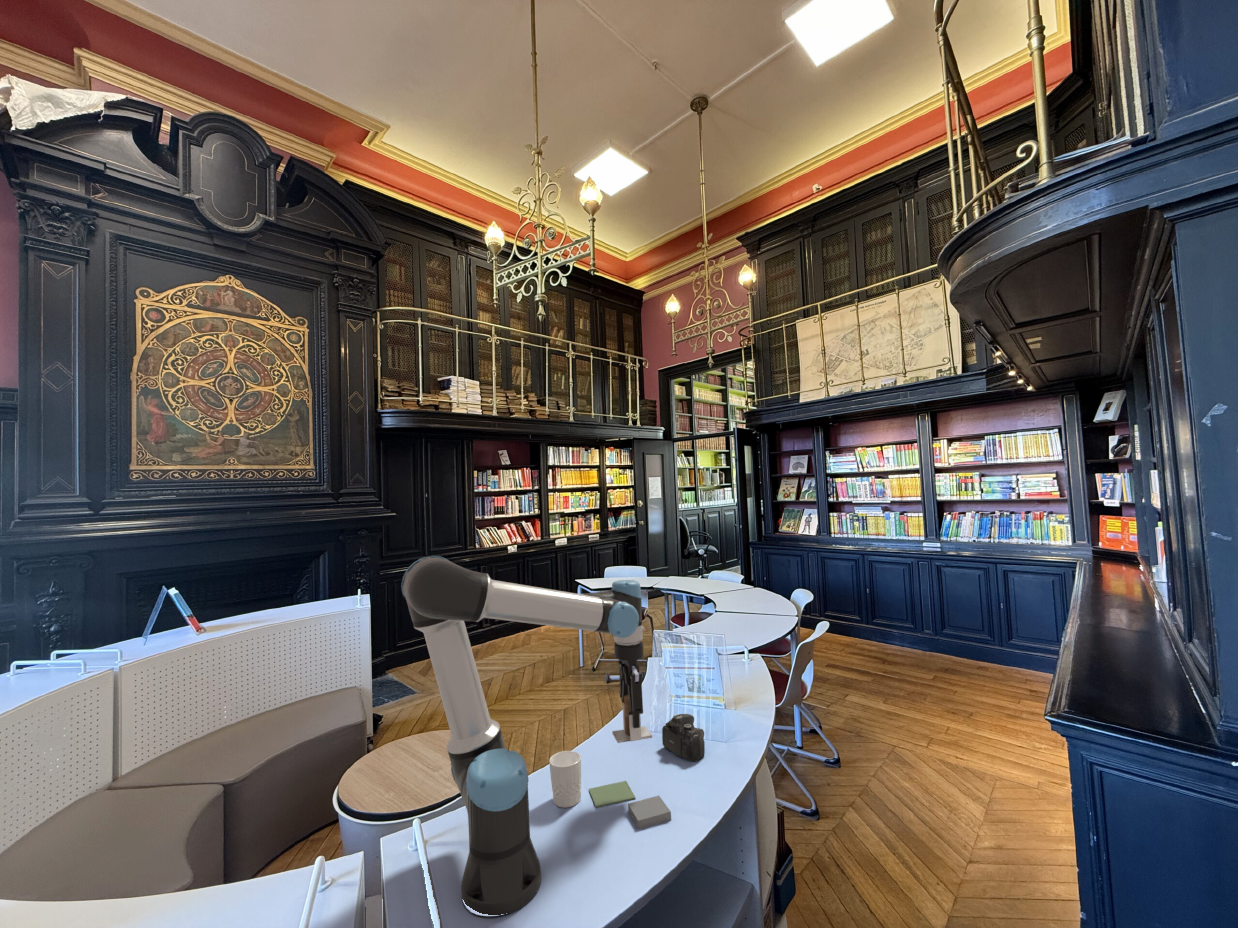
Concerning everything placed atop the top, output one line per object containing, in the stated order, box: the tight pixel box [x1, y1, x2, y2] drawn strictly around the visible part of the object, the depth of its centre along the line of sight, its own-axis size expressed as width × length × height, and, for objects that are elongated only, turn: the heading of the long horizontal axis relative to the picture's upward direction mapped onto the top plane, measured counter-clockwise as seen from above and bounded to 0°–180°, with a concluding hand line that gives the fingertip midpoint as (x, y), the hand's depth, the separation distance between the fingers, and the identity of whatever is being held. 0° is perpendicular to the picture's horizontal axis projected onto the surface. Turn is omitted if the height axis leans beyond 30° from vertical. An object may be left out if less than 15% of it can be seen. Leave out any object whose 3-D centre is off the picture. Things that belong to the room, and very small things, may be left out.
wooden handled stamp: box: [611, 694, 653, 744], centre depth 130 cm, size 9×6×10 cm, turn 105°
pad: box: [588, 780, 636, 809], centre depth 128 cm, size 10×8×1 cm
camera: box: [661, 713, 706, 762], centre depth 148 cm, size 13×10×10 cm
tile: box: [627, 795, 672, 830], centre depth 118 cm, size 8×2×7 cm
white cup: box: [548, 750, 582, 809], centre depth 127 cm, size 8×8×10 cm
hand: (632, 734), depth 129 cm, fingers closed on wooden handled stamp, 5 cm apart
